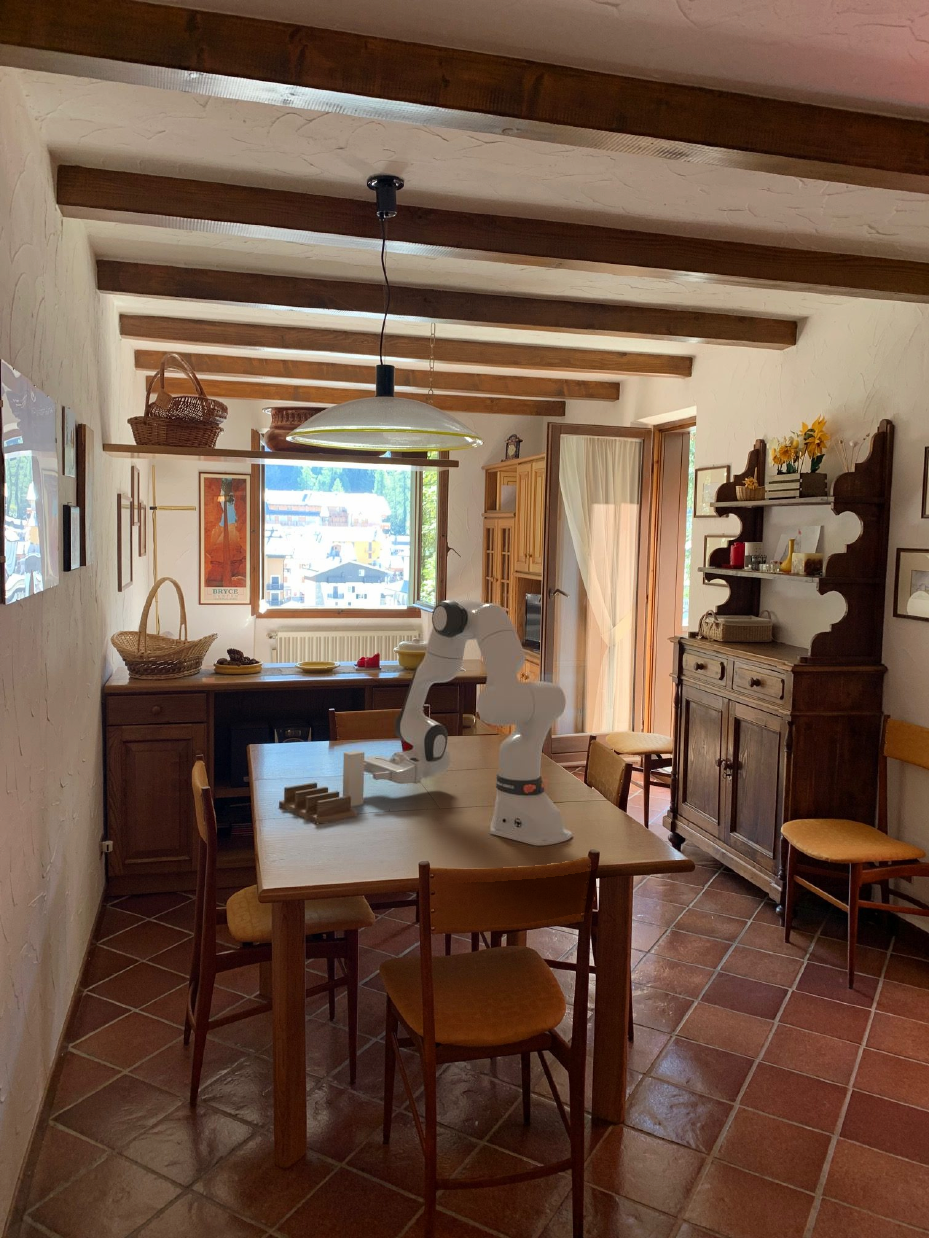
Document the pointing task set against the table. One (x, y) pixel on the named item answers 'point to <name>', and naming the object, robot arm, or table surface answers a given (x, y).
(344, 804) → the drying rack
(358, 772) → the clay strip
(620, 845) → the table surface
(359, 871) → the table surface
